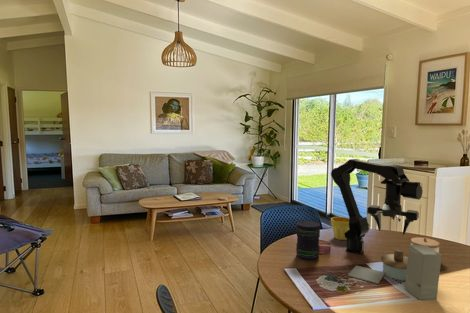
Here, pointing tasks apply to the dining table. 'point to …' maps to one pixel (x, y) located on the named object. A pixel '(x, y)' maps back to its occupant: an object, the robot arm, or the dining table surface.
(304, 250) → the storage jar
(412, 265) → the skincare box
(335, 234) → the plant pot
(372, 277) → the grey flat square slab
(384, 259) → the lid
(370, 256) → the dining table surface
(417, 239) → the lidded jar
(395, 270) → the bowl
